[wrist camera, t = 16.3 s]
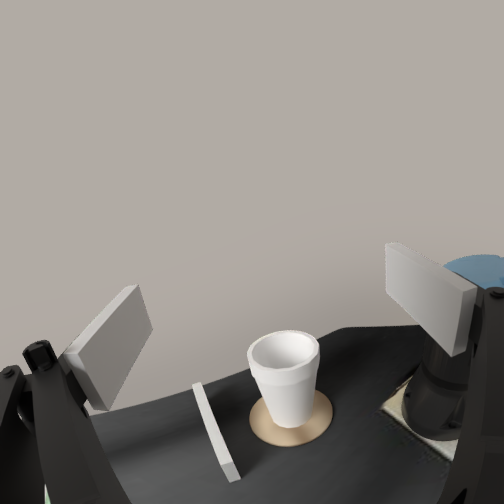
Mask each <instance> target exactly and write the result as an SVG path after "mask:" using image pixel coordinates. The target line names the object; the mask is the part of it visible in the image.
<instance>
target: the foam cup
mask: <svg viewBox="0 0 504 504" xmlns="http://www.w3.org/2000/svg"><path fill="white" fill-rule="evenodd" d="M247 356H248V360H249V365H250V369H251V373H252V376H253V377H255V379H256V382H257V384H258V387H259V389H260V392H261V394H262V396H263V399H264V401H265V403H266V406H267V408H268V410H269V413H270V415H271V417H272V419H273V422H275V423H276V424H277V425H278V426H281V427H285V428H294V427H299V426H301V425H303V424H305V423H306V422H307V421H308V420H309V419H310V418H311V413H312V408H313V400H314V392H315V384H316V375H317V369H318V367H319V360H320V353H319V343H318V342H317V341H316V339H315V338H314V336H312V335H309V334H307V333H305V332H301V331H292V330H286V331H280V332H273V333H271V334H268V335H265V336H263V337H260V338H259V339H258V340H257V341H255V342H254V343H252V344H251V346H250V348H249V350H248V352H247Z"/></svg>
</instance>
